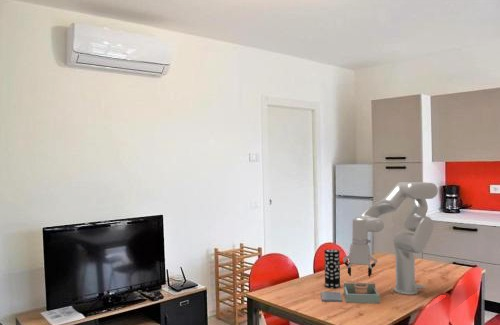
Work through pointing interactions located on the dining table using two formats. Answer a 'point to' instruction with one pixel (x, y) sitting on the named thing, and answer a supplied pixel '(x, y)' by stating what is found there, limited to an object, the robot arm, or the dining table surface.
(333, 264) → the spotted tube
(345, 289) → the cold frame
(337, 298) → the slate tile
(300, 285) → the dining table surface
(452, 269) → the dining table surface
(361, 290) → the pot
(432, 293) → the dining table surface
